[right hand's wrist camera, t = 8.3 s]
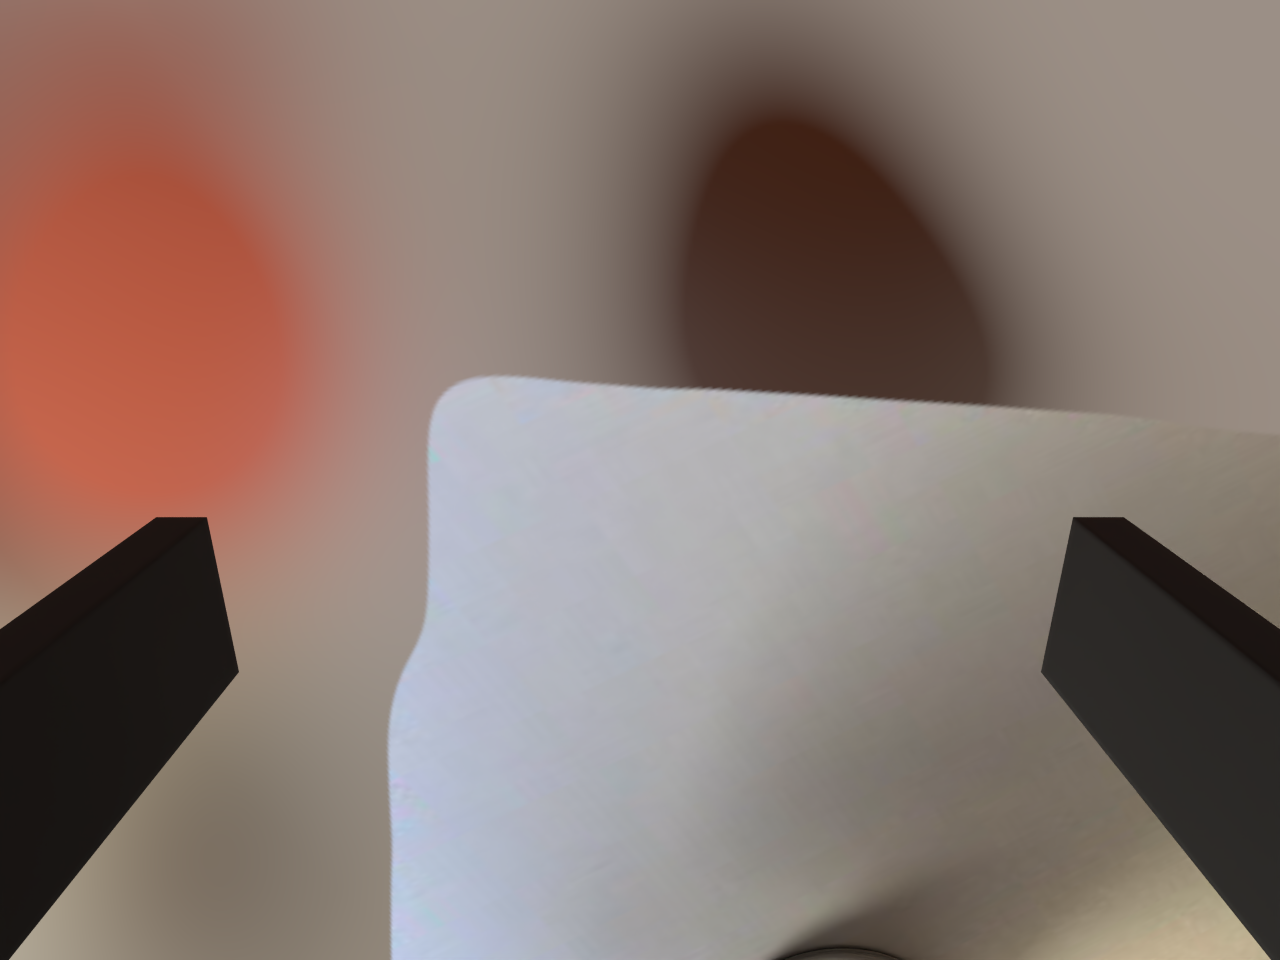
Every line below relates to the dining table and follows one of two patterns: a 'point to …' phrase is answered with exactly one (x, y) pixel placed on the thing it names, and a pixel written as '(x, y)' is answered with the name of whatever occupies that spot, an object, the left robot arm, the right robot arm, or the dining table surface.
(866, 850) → the dining table surface
